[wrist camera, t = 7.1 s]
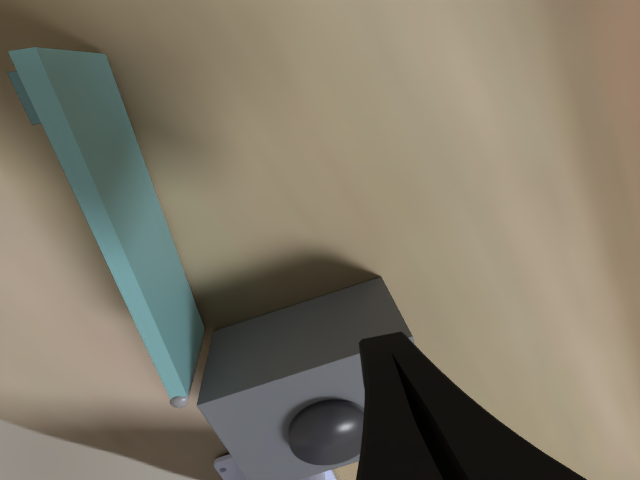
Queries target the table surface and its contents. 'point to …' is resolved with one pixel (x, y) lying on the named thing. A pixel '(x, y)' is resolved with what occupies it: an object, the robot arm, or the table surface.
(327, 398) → the block
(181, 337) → the door
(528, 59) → the table surface
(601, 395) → the table surface
